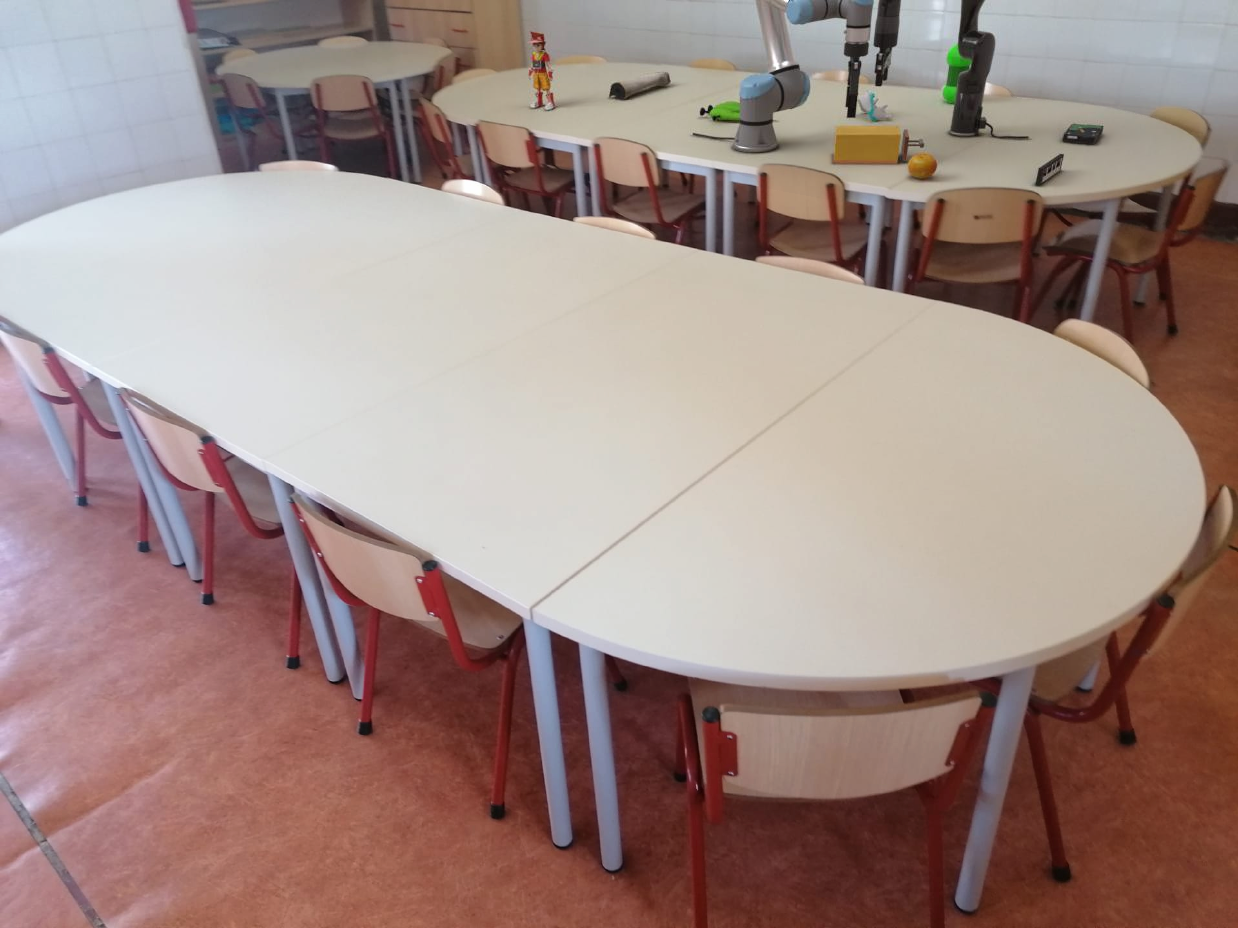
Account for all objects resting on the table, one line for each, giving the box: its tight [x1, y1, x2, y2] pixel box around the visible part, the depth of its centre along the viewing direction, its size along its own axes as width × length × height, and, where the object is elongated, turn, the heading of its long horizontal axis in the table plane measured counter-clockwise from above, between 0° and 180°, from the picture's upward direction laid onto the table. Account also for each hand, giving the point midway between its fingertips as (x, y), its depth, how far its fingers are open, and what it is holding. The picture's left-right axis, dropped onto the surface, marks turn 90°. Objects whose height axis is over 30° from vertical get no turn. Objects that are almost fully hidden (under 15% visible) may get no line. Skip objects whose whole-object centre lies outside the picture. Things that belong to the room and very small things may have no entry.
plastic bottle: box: [942, 34, 972, 104], centre depth 348 cm, size 10×10×25 cm
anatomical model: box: [857, 89, 892, 122], centre depth 341 cm, size 15×10×10 cm
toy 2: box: [699, 100, 777, 122], centre depth 351 cm, size 28×5×30 cm
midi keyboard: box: [1035, 153, 1065, 186], centre depth 273 cm, size 18×1×5 cm, turn 138°
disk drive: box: [1061, 123, 1105, 145], centre depth 306 cm, size 10×3×15 cm
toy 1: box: [527, 31, 556, 111], centre depth 374 cm, size 12×9×30 cm
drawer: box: [900, 129, 925, 161], centre depth 297 cm, size 24×9×7 cm, turn 79°
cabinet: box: [833, 125, 902, 165], centre depth 298 cm, size 20×11×9 cm, turn 79°
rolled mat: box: [608, 71, 672, 101], centre depth 395 cm, size 30×9×10 cm
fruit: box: [907, 152, 938, 179], centre depth 279 cm, size 8×8×8 cm
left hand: (850, 112), depth 293 cm, fingers open, 13 cm apart
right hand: (881, 83), depth 300 cm, fingers open, 8 cm apart
